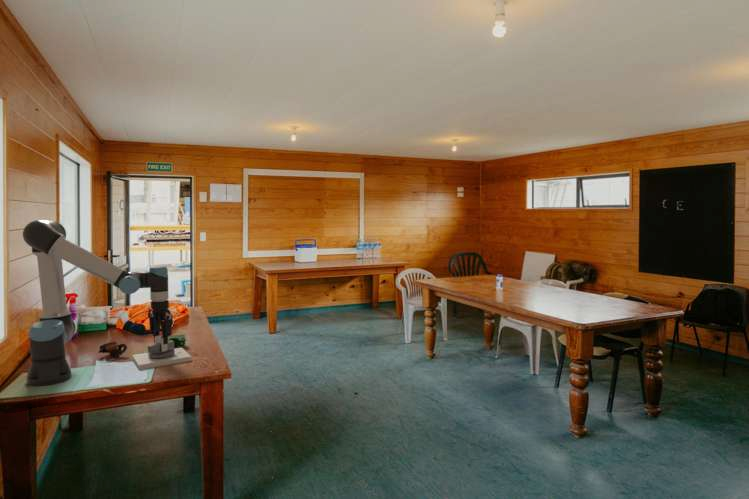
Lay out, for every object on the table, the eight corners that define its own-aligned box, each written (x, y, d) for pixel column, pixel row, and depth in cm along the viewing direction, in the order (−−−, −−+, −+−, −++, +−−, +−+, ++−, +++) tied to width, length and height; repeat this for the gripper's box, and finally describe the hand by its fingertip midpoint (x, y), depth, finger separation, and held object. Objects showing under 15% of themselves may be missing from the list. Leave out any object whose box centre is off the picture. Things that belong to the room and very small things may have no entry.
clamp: (166, 358, 240) (158, 344, 235) (165, 352, 245) (157, 338, 240) (189, 346, 244) (182, 332, 239) (188, 341, 248) (180, 327, 244)
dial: (154, 360, 214) (154, 347, 214) (144, 355, 221) (143, 343, 221) (178, 355, 222) (178, 342, 222) (167, 350, 230) (167, 338, 229)
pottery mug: (99, 363, 219) (95, 346, 221) (104, 366, 228) (100, 350, 230) (127, 353, 224) (123, 336, 226) (131, 357, 232) (127, 341, 234)
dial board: (138, 369, 208) (138, 364, 208) (132, 359, 223) (132, 354, 223) (191, 360, 221) (191, 356, 221) (182, 351, 236) (181, 347, 235)
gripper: (179, 300, 220) (180, 350, 221) (153, 297, 227) (155, 346, 229) (166, 303, 213) (167, 354, 215) (140, 300, 220) (141, 350, 222)
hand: (161, 350), depth 222 cm, fingers closed on dial, 3 cm apart
